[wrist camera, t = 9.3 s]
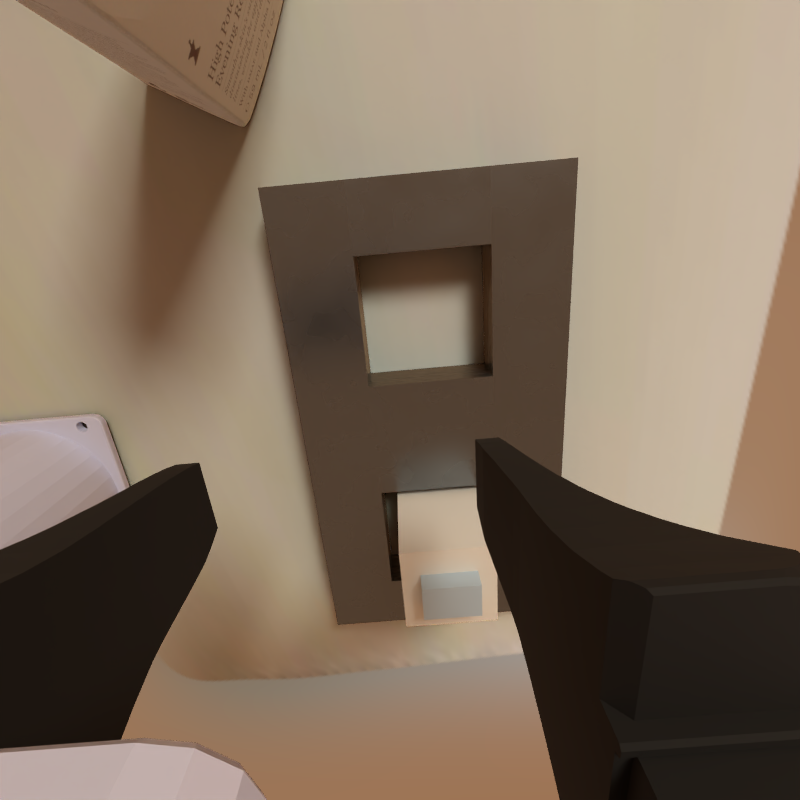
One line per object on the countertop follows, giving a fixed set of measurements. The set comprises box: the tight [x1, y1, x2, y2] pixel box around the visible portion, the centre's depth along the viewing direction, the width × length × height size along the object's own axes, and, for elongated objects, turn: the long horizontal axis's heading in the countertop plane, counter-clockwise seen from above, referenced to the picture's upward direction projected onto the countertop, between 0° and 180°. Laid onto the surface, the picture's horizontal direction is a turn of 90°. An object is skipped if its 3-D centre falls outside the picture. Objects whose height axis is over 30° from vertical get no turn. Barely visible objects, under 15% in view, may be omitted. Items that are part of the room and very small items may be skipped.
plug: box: [397, 485, 498, 627], centre depth 21 cm, size 4×4×7 cm
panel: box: [258, 158, 578, 625], centre depth 21 cm, size 12×22×2 cm, turn 5°
